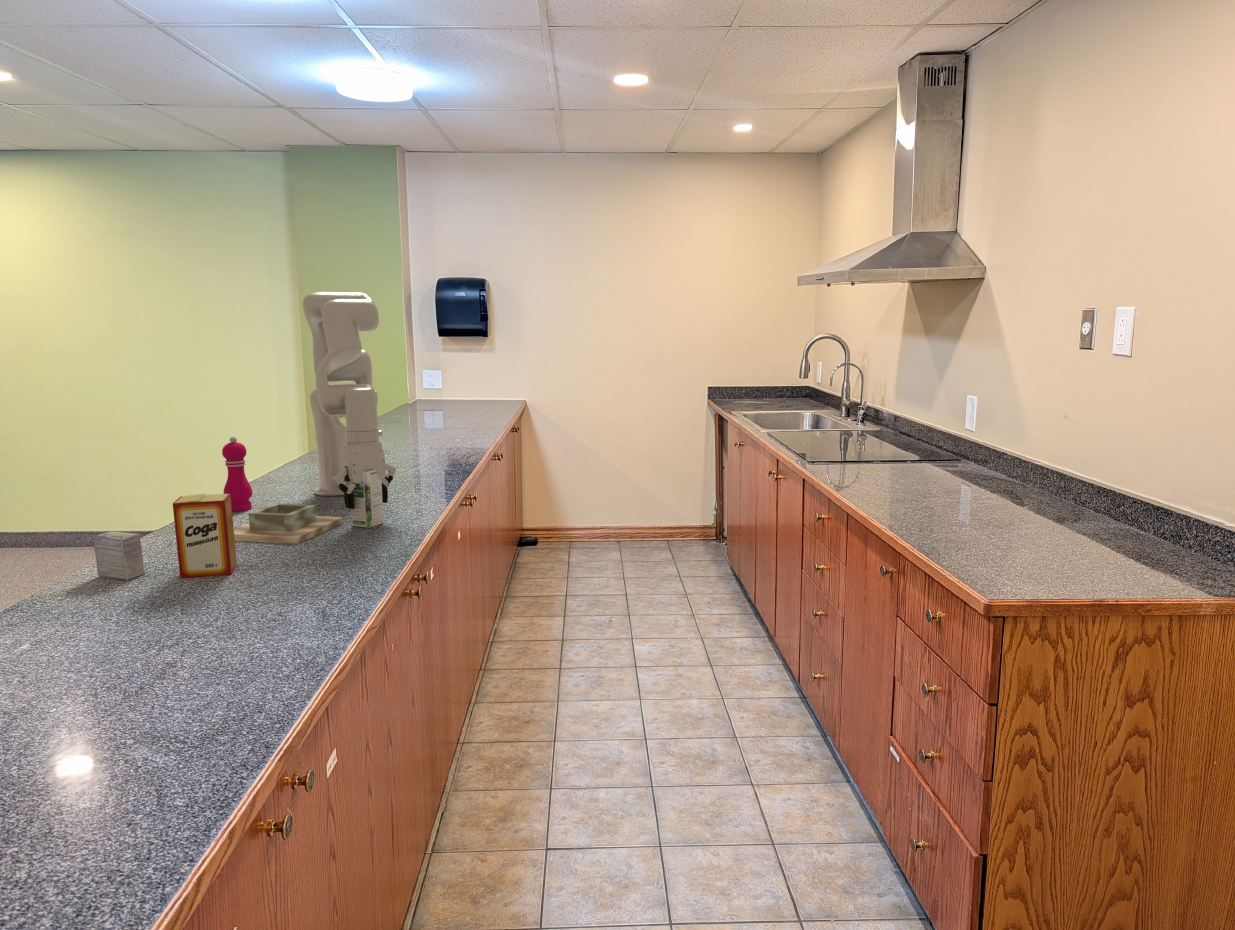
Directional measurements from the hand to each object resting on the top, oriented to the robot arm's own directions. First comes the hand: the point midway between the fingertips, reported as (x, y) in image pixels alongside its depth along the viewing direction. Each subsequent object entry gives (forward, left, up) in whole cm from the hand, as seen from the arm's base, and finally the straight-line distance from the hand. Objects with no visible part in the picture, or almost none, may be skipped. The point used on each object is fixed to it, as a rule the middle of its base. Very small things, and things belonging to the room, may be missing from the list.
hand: (366, 505), depth 210 cm
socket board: (+17, -10, -5) cm, 20 cm away
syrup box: (0, 0, -5) cm, 5 cm away
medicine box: (+56, -1, -5) cm, 56 cm away
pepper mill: (+14, -42, -5) cm, 45 cm away
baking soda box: (+43, +10, -5) cm, 44 cm away
